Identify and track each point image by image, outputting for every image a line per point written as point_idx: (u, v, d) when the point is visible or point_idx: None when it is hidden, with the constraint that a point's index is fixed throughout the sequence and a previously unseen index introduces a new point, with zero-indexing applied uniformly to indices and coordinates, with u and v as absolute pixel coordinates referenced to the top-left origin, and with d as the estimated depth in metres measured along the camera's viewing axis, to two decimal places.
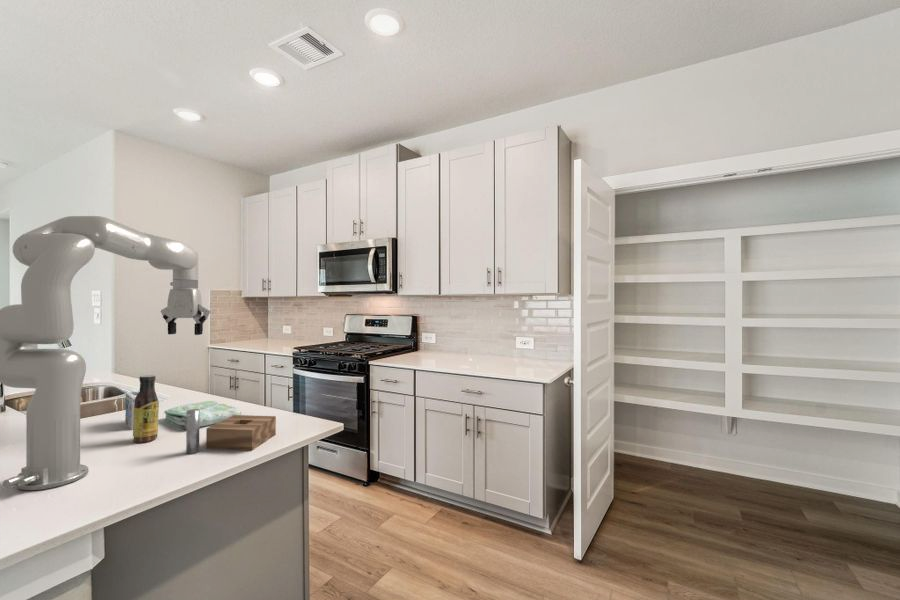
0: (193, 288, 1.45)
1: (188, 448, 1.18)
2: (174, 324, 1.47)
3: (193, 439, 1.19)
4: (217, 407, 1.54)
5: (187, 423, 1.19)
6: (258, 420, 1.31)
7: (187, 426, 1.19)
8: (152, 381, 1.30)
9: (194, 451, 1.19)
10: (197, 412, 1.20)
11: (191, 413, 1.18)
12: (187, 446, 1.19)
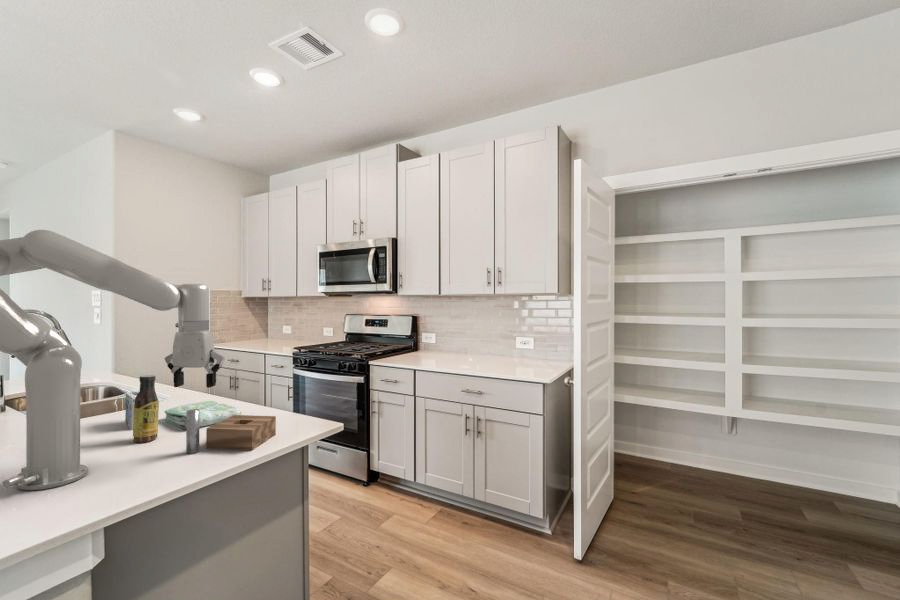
0: (204, 330, 1.19)
1: (189, 448, 1.18)
2: (182, 374, 1.21)
3: (193, 439, 1.19)
4: (217, 407, 1.54)
5: (187, 423, 1.19)
6: (258, 420, 1.31)
7: (187, 426, 1.19)
8: (152, 381, 1.30)
9: (194, 451, 1.19)
10: (197, 412, 1.20)
11: (191, 413, 1.18)
12: (187, 446, 1.19)
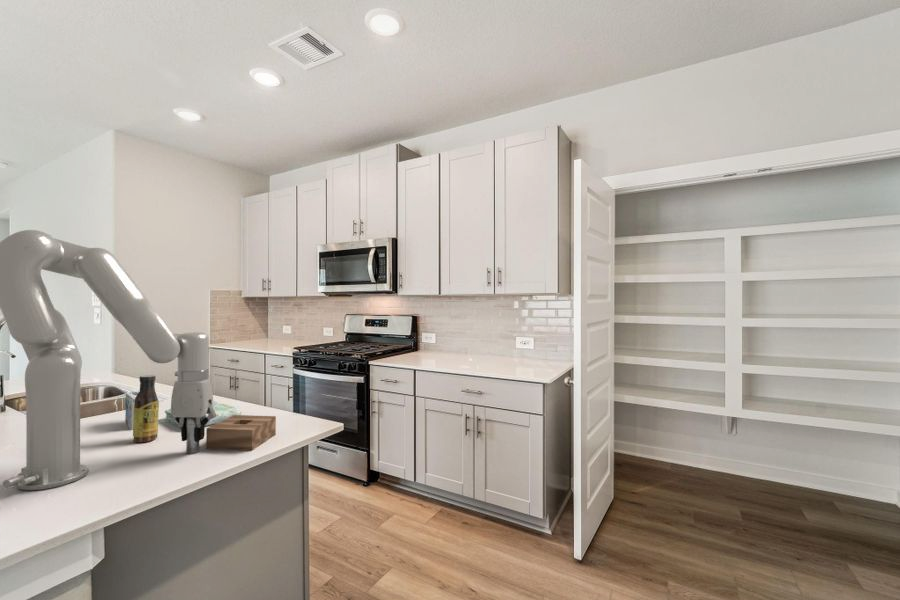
0: (203, 380, 1.19)
1: (189, 448, 1.18)
2: None
3: (193, 439, 1.19)
4: (217, 407, 1.54)
5: (187, 423, 1.19)
6: (258, 420, 1.31)
7: (187, 426, 1.19)
8: (152, 381, 1.30)
9: (194, 451, 1.19)
10: None
11: None
12: (187, 446, 1.19)
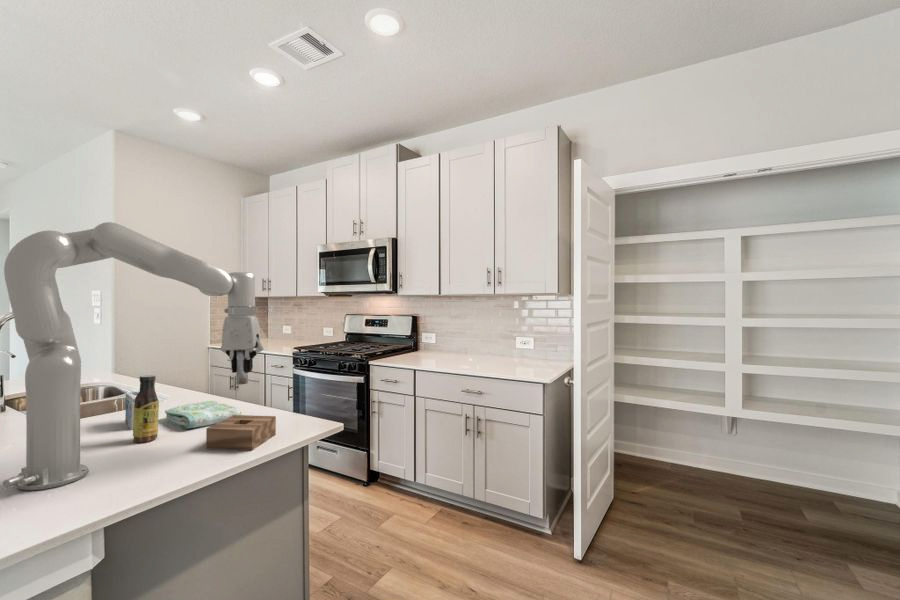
0: (251, 316, 1.27)
1: (239, 378, 1.27)
2: None
3: (242, 370, 1.28)
4: (217, 407, 1.54)
5: (237, 355, 1.28)
6: (258, 420, 1.31)
7: (237, 358, 1.28)
8: (152, 381, 1.30)
9: (243, 382, 1.28)
10: None
11: None
12: (237, 377, 1.28)
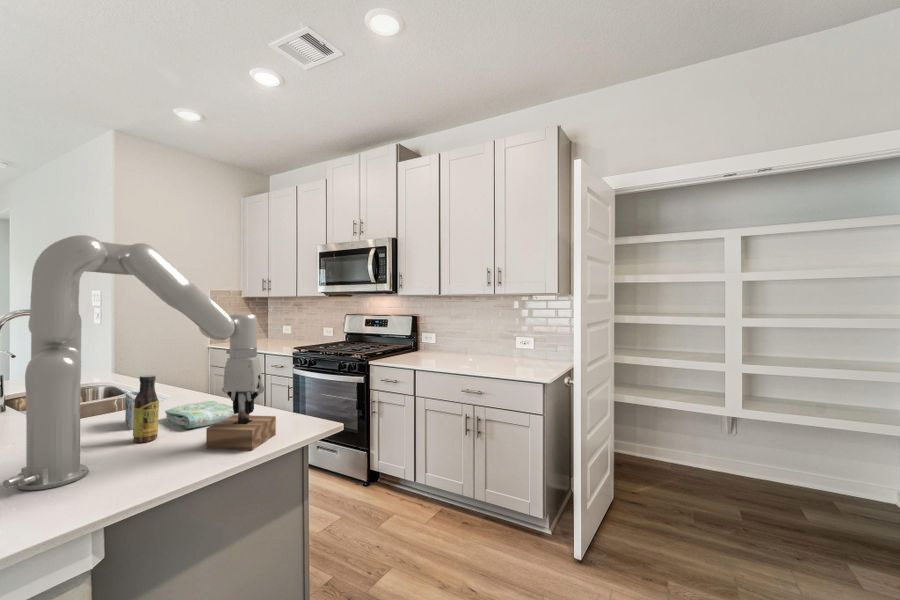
0: (253, 357, 1.28)
1: (240, 420, 1.28)
2: None
3: (244, 412, 1.28)
4: (217, 407, 1.54)
5: (238, 397, 1.28)
6: (258, 420, 1.31)
7: (238, 400, 1.28)
8: (152, 381, 1.30)
9: (245, 423, 1.28)
10: None
11: None
12: (239, 418, 1.28)
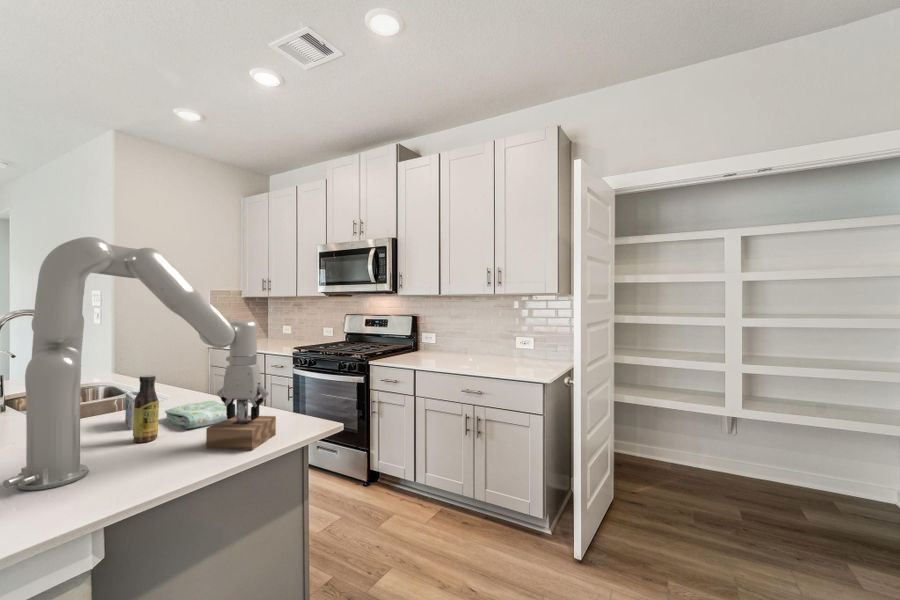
0: (252, 365, 1.28)
1: None
2: (233, 406, 1.30)
3: None
4: (217, 407, 1.54)
5: (237, 411, 1.28)
6: (258, 420, 1.31)
7: (237, 414, 1.28)
8: (152, 381, 1.30)
9: None
10: (246, 401, 1.29)
11: (241, 401, 1.28)
12: None
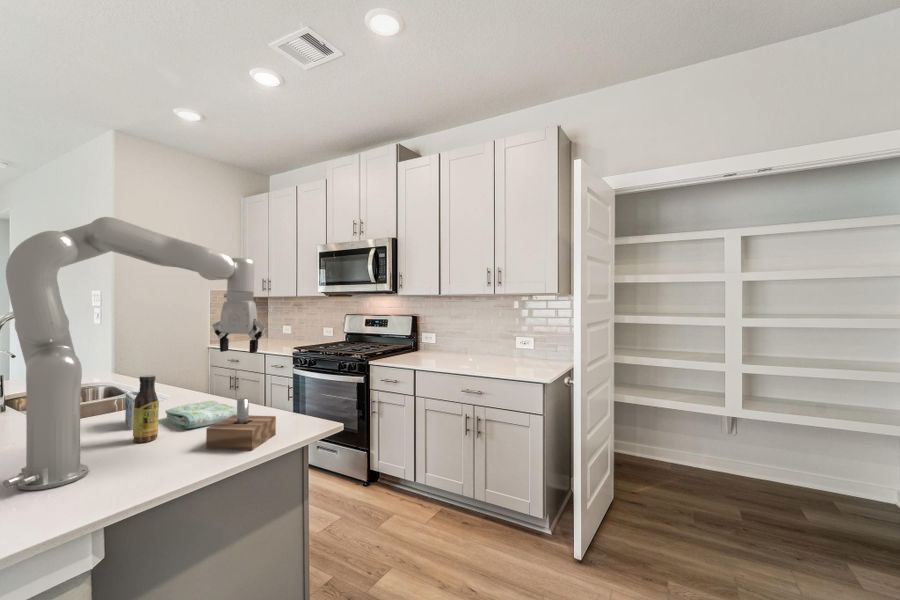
0: (249, 301, 1.30)
1: None
2: (227, 340, 1.33)
3: None
4: (218, 407, 1.54)
5: (238, 411, 1.28)
6: (258, 420, 1.31)
7: (238, 414, 1.28)
8: (152, 381, 1.30)
9: None
10: (247, 401, 1.29)
11: (241, 401, 1.28)
12: None
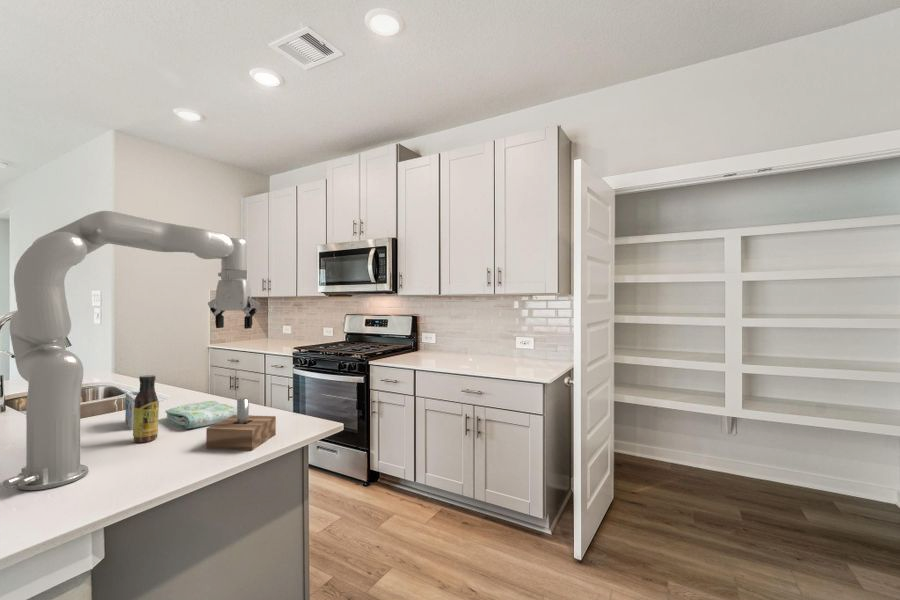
0: (243, 279, 1.36)
1: None
2: (222, 317, 1.39)
3: None
4: (218, 407, 1.54)
5: (238, 411, 1.28)
6: (258, 420, 1.31)
7: (238, 414, 1.28)
8: (152, 381, 1.30)
9: None
10: (247, 401, 1.29)
11: (242, 401, 1.28)
12: None
